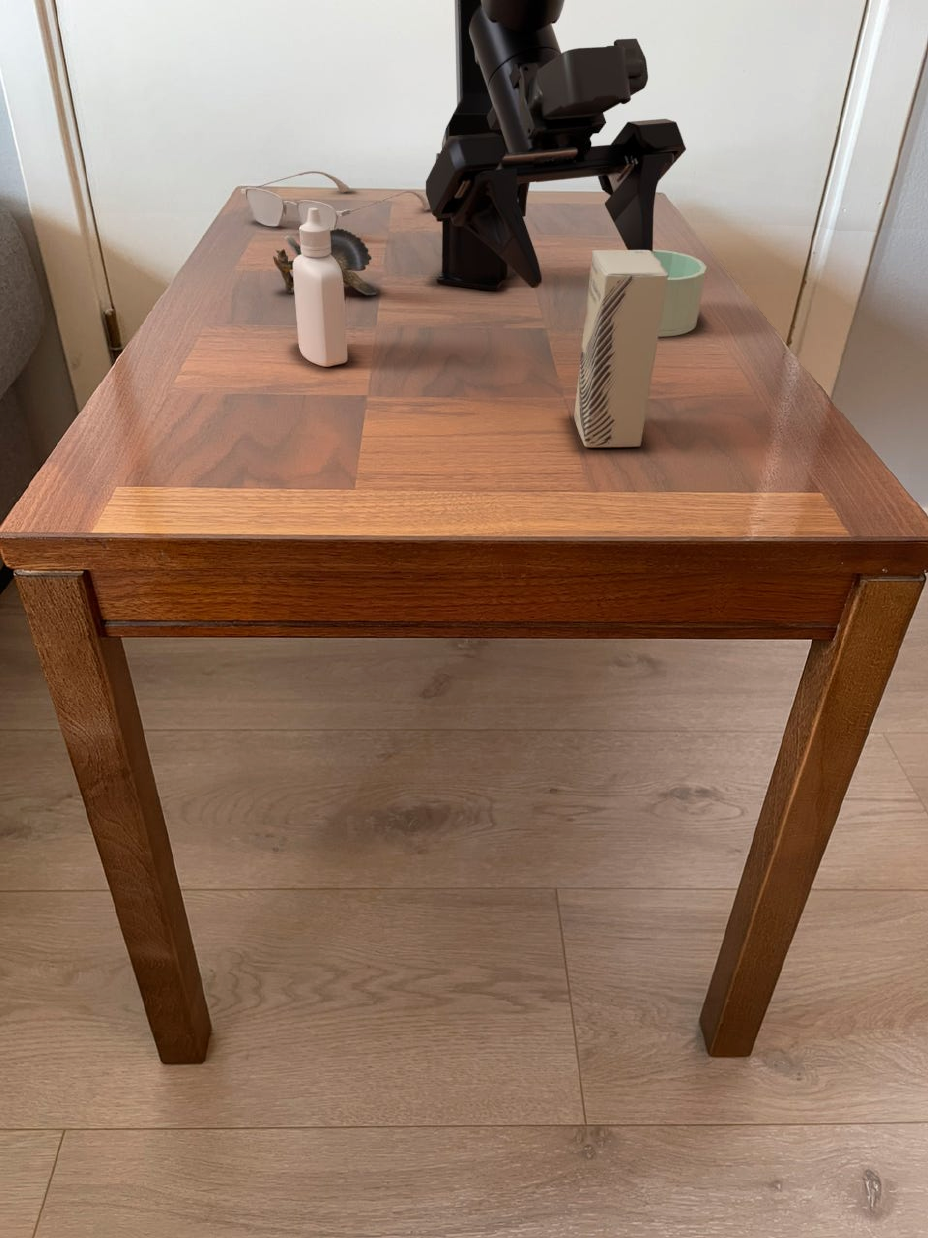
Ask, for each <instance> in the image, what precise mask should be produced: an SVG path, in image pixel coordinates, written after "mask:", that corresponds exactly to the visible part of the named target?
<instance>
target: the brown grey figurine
mask: <svg viewBox="0 0 928 1238" xmlns="http://www.w3.org/2000/svg"><path fill="white" fill-rule="evenodd" d="M330 239H331V253H330V254H331V255H332V257H333V258H334V259H335V260H336V261H337V263H338V264H339V266H340V268H341V271H342V275H343V284H347V285H348V286H350V287H352V288H353V289H355V290H357V291H358V292H360V293H361V294H363V295H365V296H374V295H376V296H377V293H378V291H377V290H376V288H375V287H373V286H372V285H370V284H368V283H367V282H366V281H365V280H363V279H362V278H361V277H360V276H359V275H358V274H357V273H356V272H362V271H365V270H366V269H367V267H366V266H369V265H370V261H371V260H372V255H371V254H370V253H369V251H370V250H369V248H368V247H367V246H366V243H364V242H363V241H362V239H361V237H358V236H357V235H356V234H354V233H352V232H351V231H348V230H345V229H343V228H335V230H330ZM284 240H285V242H286V243H287V244H288V247H289V249H290V250H292V252H293V253H294V254H295V255H296V257H297V256H299V255H301V254H302V253H301V247H300V243H298V242H297V241H296V240H295V239H294V238H293V237H292V236H291V235H286V236H285V238H284ZM275 252H276V253H277V256H276V255H273V256H272V260H273V262H274V265H275V266H276V267H277V269H278V270H279V272H280V273H281V276H282V279H283V280H284V284H285V292H286V293H290V292H292V290H293V289H294V280H293V274H291V271H293V262H294V260H289V256H288V255H287V251H286V249H284V248H282V249H281V250H278V249H276V250H275Z"/></svg>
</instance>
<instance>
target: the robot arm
mask: <svg viewBox="0 0 928 1238" xmlns="http://www.w3.org/2000/svg"><path fill="white" fill-rule="evenodd" d="M565 1H566V0H454V36H455V37H454V38H455V39H454V40H455V76H456V77H455V79H456V107H455V109H454V112H453V113H452V115H451V117H450V119H449V121H448V123H447V125H446V127H445V129H444V134H443V138H442V141H441V150H440V152H436V153H435V163H434V165H433V166H432V168H431V170H430V172H429V174H428V175H427V178H426V180H425V197H426V200H427V201H428V202H429V205H430V211H431V214H432V216H433V217H434V218H435V220H436V222H437V223H440V222H441V225H442V226H441V227H442V228H441V272H440V273H439V274H438V275H437V276H436V277H435V282H436V283H437V284H441V285H442V284H443V285H450V286H458V287H466V288H473V289H481V290H487V291H488V290H489V291H497V290H499V289H500V287H501V286H502V285H503V284H504V283H505V282H506V281H507V280H508V279H509V277H510V276H511V275H513V273H514V272H515V273H516V274H517V275H518V276H519V278H521V280H523V281H524V282H525V283H526V284H527V285H528V286H529V287H530V288H531V289H536V288H538V287H539V286H540V285H541V283H542V282H543V277H542V272H541V268H540V263H539V260H538V257H537V254H536V249H535V248H534V245H533V242H532V239H531V237H530V233H529V231H528V228H527V224H526V222H525V219H524V217H527V216H526V214H527V200H528V193H529V189H530V184H531V183H545V182H555V181H562V180H572V179H573V180H574V179H582V178H583V179H584V178H592V177H597V178H598V181H599V182H598V183H599V184H600V188H601V190H602V191H603V192H605V193H606V194H607V195H609V197H608V198H607V200H606V201H605V202H604V206H605V208H606V210H607V212H608V214H609V217H610V218H611V220H612V222H613V224H614V226H615V228H616V230H617V232H618V233H619V235H620V237H621V239H622V241H623V243H624V246H625V248H626V250H650V251H652V252H653V250H654V249H653V248H654V212H655V211H654V210H655V201H656V195H657V194H656V192H657V187H658V184H659V181H660V180H661V179H662V178H663V177H664V176H665V175H666V174H667V172H669V171H670V169H671V168H672V167H673V166H674V164H675V163H676V162H677V161H678V160H679V159H680V157H681V156H682V155H683V154H684V153H685V151H687V148H686V144H685V142H684V138H683V136H682V132H681V131H680V128H679V126H678V123H677V121H674V120H672V119H668V118H656V119H645V120H633V121H627V122H626V123H625V125H624V126H623V127H622V128H621V130H620V131H619V133H618V134H617V135H616V137H615V138H614V139H613V141H612V142H611V143H610V144H603V145H601V144H600V145H593V146H592V144H593V142H592V140H591V138H592V136H593V135H595V134H600V132H601V131H602V130H603V128H604V127H605V125H606V124H607V120H606V117H605V114H604V113H605V112H607V111H609V110H611V109H613V108H615V107H617V106H618V105H620V104H621V105H626V104H629V102H631V100H632V96H633V95H635V94H637V93H639V92H640V91H642V90H643V89H645V88H646V86H647V84H648V81H649V73H648V63H647V58H646V55H645V54H644V52H643V50H642V47H641V45H640V43H639V41H638V39H637V38H617V39H616V40H614V41H613V45H607V46H594V47H593V46H592V47H578V48H572V49H568V50H566V51H563V52H562V51H561V48H560V44H559V42H558V39H557V36H556V33H555V31H554V28H553V24H554V25H555V24H556V23H557V22H558V20H559V19H560V17H561V14H562V11H563V10H564V9H563V8H564V5H565Z"/></svg>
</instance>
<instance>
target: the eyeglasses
mask: <svg viewBox="0 0 928 1238" xmlns="http://www.w3.org/2000/svg"><path fill="white" fill-rule="evenodd" d="M308 174H318V175H323V176H325V177H327V178H328V179H330V181H331V180H332V181H333V182H334V184H335V186H336V187H337V188H338V191H340V192H341V193H346V192H348V191H350V187H349V186H348V185H347V184H346V183H345V182H343V181H342V180H340V179H339V178H338V177H336V176H333V175H332V174H329V173H326V172H324V171H318V170H310V171H304V172H299V173H298V174H294V175H290V176H286V177H283V178H280V179H277V180H273V181H270V182H266V183H263V184H259V185H257V186H253V187H252V186H248V187H244V188H241V189H240V193H241V194H242V195H245V199H246V202H247V205H248V207H249V209H250V212H251V214H252V216H253V218H254V219H255V221H257V222H258V223H259V224H261V225H263V226H267V227H278V226H280V224H281V222H282V220H283V218H284V215H286V216H287V212H288V209H287V208H288V207H287V204H290V205H293V206H295V207H296V213H297V216H298V218H299V222H300V225H303V224H305V223H306V222H307V219H308V210H309V208H318V212H319V216H320V220H321V222H322V223H324V224H326V225H328V226H329V227H330V230H336V227H337V224H338V219H339V218H338V217H341V218H343V217H345V216H349V215H351V212H354V211H357V210H360V209H363V208H366V207H370V206H373V205H375V204H378V203H381V202H384V201H387V200H389V199H392V198H395V197H399V196H400V195H403V194H413V196H414V195H415V196H416V197H417V198H418V199H419V200H420V202H421V205H422V208H423V209H424V211H428V210H431V208H430V205H429V202H428V199H427V198H426V197H424V196H423V195H421V193H418V192H416V191H415V190H411V189H409V190H402V191H400V192H397V193H396V194H394V195H391V196H389V197H386V198H383V199H381V200H378V201H374V202H372V203H369V204H365V205H363V206H360V207H356V208H353V209H348V208H347V209H344V210H336V209H335V208H334V207H333V206H332V205H330V204H327V203H324V202H320V201H316V200H308V199H302V200H299V201H297V203H296V202H295V201H291V200H285V201H284V200H283V198H282V197H281V196H280V195H278V194H277V193H275V192H272V191H269V190H266V189H262V188H261V187H264V186H266V185H270V184H273V183H276V182H280V181H284V180H286V179H290V178H293V177H299V176H303V175H308Z"/></svg>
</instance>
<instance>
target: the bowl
mask: <svg viewBox="0 0 928 1238" xmlns="http://www.w3.org/2000/svg"><path fill="white" fill-rule="evenodd" d="M653 254H654V255H655V256H656V258H657V259H658V260H659V261H660V262H661V264H662V266H663V267H664V269H665V270H666V272H667V273H668V279H667V286H666V292H665V299H664V305H663V311H662V317H661V323H660V329H659V336H658V338H660V337H661V338H662V337H674V336H680V335H684V334H687V333H689V332H691V331H693V330H694V329H695V328H696V326H697V324H698V318H699V315H700V309H701V304H702V299H703V298H702V297H703V292H704V285H705V281H706V274H707V268H708V266H706V264H705V263H704V262H703V261H702V260H701V259H698V258H696V257H695V256H692V255H689V254H686V253H681V252H678V251H672V250H665V249H653Z"/></svg>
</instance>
